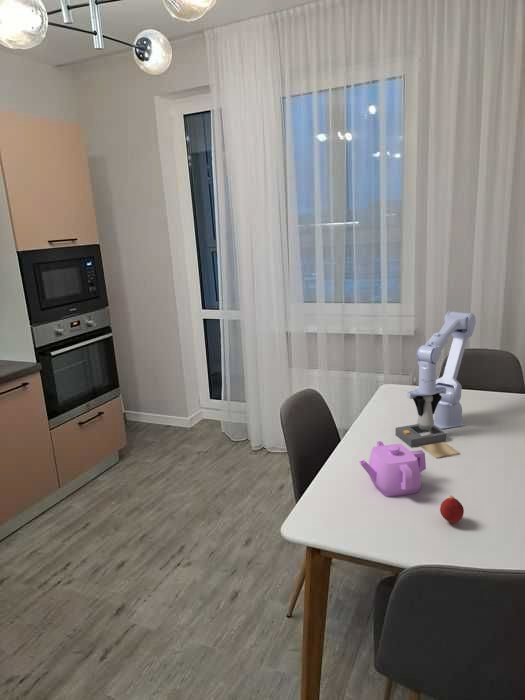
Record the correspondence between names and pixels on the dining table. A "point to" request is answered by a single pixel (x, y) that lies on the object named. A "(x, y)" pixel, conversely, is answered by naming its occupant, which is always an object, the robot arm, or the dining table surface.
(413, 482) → the teakettle
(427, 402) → the salt shaker
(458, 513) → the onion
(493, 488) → the dining table surface
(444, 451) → the oak pad
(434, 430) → the grey flat block
